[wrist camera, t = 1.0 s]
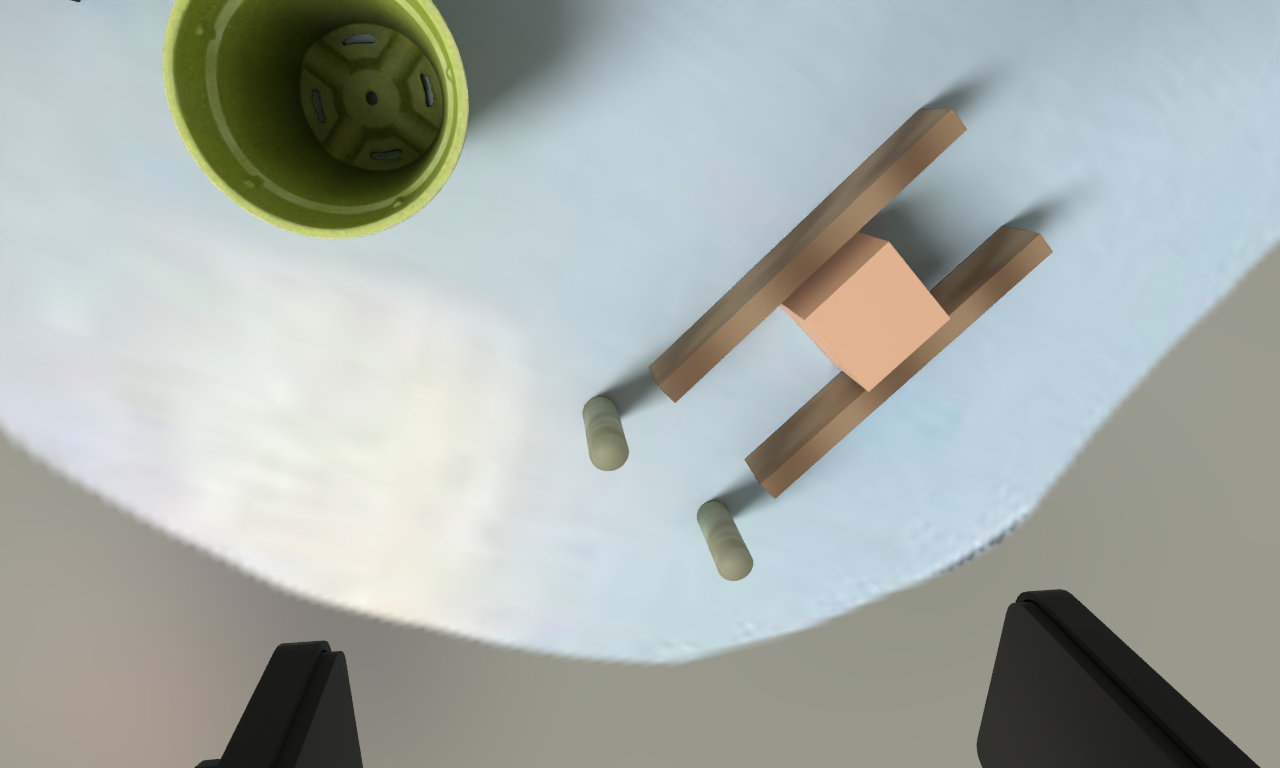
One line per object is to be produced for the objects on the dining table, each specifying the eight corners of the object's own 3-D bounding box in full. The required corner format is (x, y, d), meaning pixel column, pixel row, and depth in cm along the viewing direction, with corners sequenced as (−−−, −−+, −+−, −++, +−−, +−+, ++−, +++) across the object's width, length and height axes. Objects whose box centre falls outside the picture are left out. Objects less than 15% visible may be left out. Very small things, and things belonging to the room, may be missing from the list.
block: (848, 228, 36) (889, 241, 32) (904, 297, 38) (950, 318, 34) (774, 298, 37) (804, 320, 33) (832, 362, 39) (868, 392, 35)
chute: (907, 94, 35) (966, 89, 30) (1023, 255, 38) (1092, 273, 34) (575, 413, 38) (581, 454, 33) (711, 535, 41) (733, 587, 37)
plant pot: (506, 190, 34) (497, 211, 26) (300, 228, 33) (224, 262, 25) (455, -37, 30) (425, -96, 22) (225, 0, 30) (109, -47, 22)
